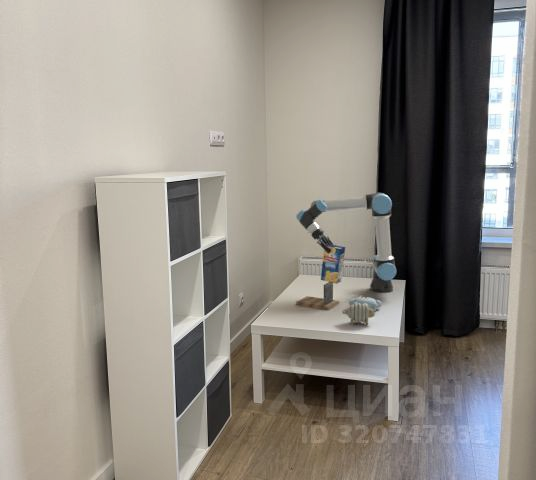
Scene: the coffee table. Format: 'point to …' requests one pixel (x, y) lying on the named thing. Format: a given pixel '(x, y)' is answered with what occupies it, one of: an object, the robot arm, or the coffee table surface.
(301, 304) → the wooden stand
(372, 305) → the figurine
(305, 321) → the coffee table surface
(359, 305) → the toy sheep
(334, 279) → the beverage box
